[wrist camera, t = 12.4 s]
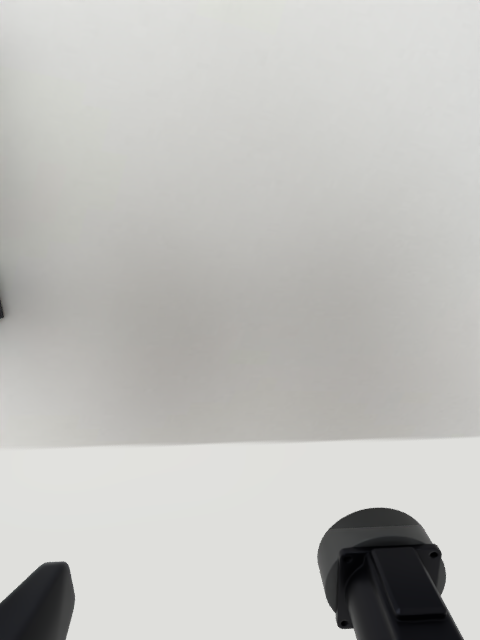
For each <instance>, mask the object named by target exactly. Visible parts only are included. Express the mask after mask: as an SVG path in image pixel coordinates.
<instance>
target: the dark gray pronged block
mask: <svg viewBox="0 0 480 640" xmlns="http://www.w3.org/2000/svg"><path fill="white" fill-rule="evenodd" d="M3 317H4V316H3V311H2V307H1V302H0V319H1V318H3Z"/></svg>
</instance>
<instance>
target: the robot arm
mask: <svg viewBox="0 0 480 640" xmlns="http://www.w3.org/2000/svg"><path fill="white" fill-rule="evenodd" d="M441 555H442V554H441V551H440V550H439V548H438V547H437V545H435V544H414V545H392V546H371V547H349V548H343V549H341V550H340V551H339V554H338V575H337V599H336V621H337V625H338V627H339V628H342V629H351V628H354V631H355V634H356V638H357V640H464V639H463V637H462V635H461V634H460V632H459V630H458V628H457V626H456V624H455V622H454V620H453V618H452V617H451V615H450V613H449V611H448V609H447V607H446V606H445V604H444V602H443V600H442V598H441V596H440V594H439V592H438V590H437V585H438V578H439V570H440V563H441ZM346 556H348V557H346ZM74 602H75V594H74V589H73V584H72V579H71V574H70V569H69V566H68V564H67V563H66V562H47V563H44V564H42V565H41V566H40V567H38V568H37V569H36V570H35V571H34V572H33V573H32V574H31V575H30V576H29V577H28V578H27V579H26V580H25V581H24V582H22V584H21V585H19V586H18V587H17V588H16V589H15V590H14V591H13V592H12V593H11V594H10V595H9V596H8V597H6V599H4V600H3V601H2V602H1V603H0V640H66V636H67V632H68V629H69V624H70V621H71V617H72V613H73V609H74Z"/></svg>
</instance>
